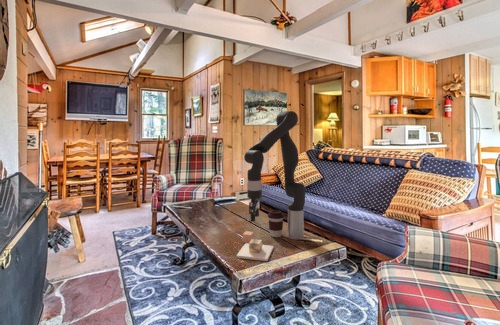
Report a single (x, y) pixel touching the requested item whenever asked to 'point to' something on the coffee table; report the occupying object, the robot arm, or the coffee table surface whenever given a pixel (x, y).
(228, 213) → the coffee table surface
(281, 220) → the coffee cup
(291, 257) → the coffee table surface
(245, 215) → the coffee table surface
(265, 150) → the robot arm
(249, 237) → the terracotta block
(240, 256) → the base plate
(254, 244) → the maple block
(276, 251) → the coffee table surface
